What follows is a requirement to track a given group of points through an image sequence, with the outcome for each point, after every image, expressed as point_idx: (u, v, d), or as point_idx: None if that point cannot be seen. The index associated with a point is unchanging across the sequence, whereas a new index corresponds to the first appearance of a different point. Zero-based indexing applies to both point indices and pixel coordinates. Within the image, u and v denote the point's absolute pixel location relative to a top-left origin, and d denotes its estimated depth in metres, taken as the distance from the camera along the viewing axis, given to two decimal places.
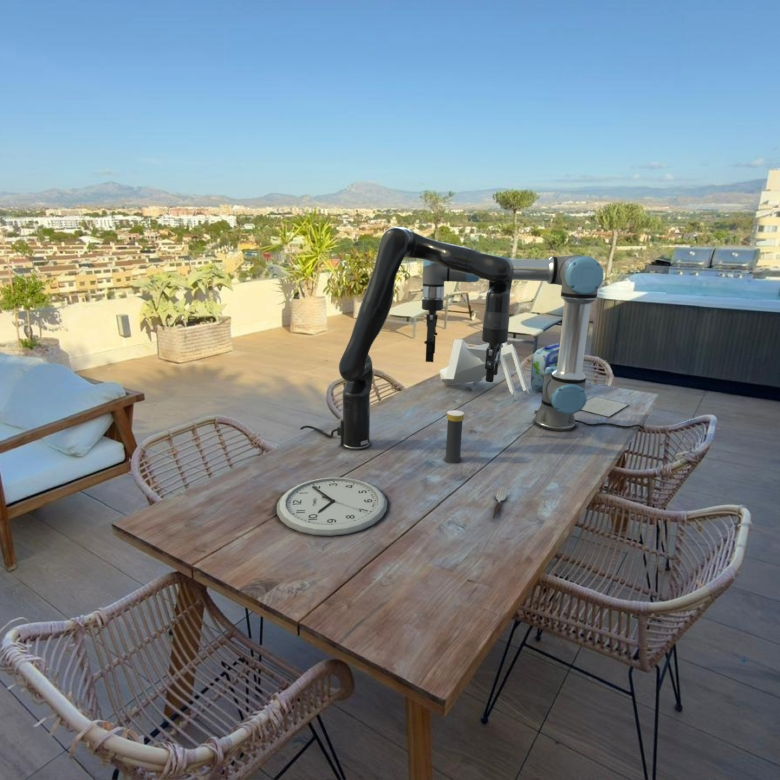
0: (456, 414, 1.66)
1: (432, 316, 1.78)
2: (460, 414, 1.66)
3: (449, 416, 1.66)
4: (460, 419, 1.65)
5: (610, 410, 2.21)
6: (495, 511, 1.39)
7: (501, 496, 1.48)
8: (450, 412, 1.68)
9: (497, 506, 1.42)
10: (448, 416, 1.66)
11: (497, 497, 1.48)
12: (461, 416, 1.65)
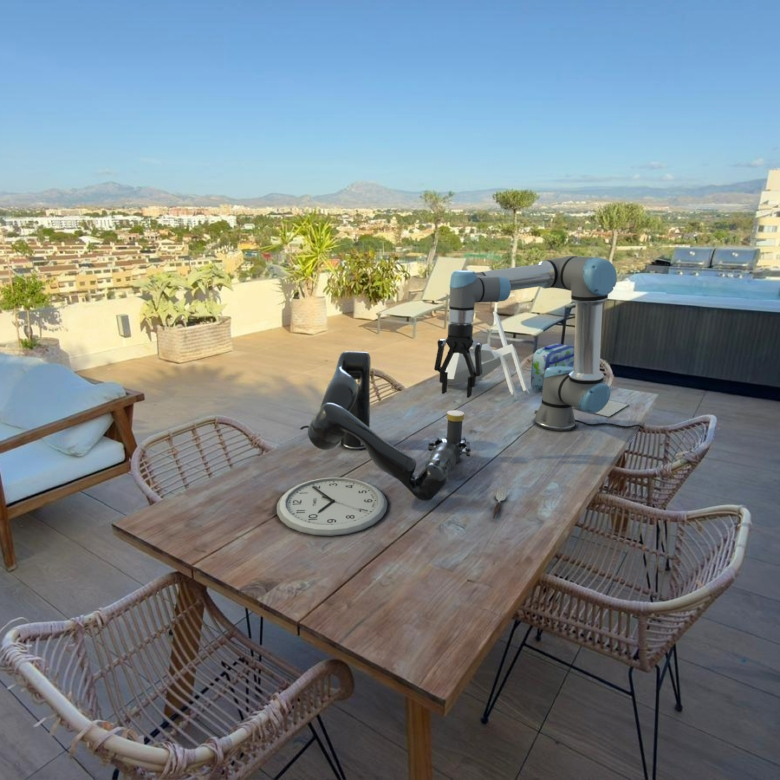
0: (456, 414, 1.66)
1: None
2: (460, 414, 1.66)
3: (449, 416, 1.66)
4: (460, 419, 1.65)
5: (610, 410, 2.21)
6: (495, 511, 1.39)
7: (501, 496, 1.48)
8: (450, 412, 1.68)
9: (497, 506, 1.42)
10: (448, 416, 1.66)
11: (497, 497, 1.48)
12: (461, 416, 1.65)
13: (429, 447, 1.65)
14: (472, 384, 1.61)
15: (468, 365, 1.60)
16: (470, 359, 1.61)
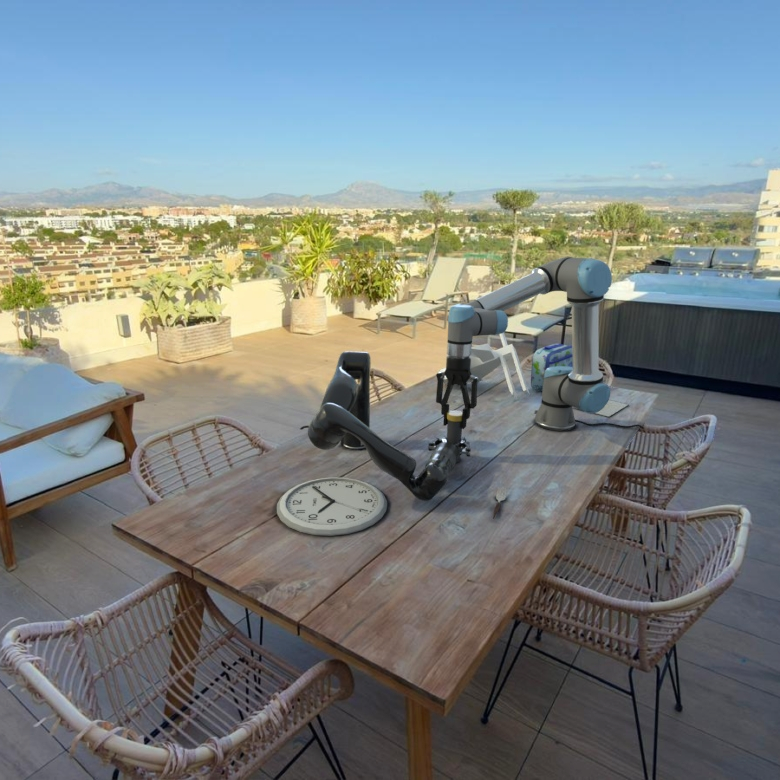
0: (456, 414, 1.66)
1: None
2: (460, 414, 1.66)
3: (449, 416, 1.66)
4: (460, 419, 1.65)
5: (610, 410, 2.21)
6: (495, 511, 1.39)
7: (501, 496, 1.48)
8: (450, 412, 1.68)
9: (497, 506, 1.42)
10: (448, 416, 1.66)
11: (497, 497, 1.48)
12: (461, 416, 1.65)
13: (429, 447, 1.65)
14: (467, 416, 1.65)
15: (464, 397, 1.63)
16: (467, 392, 1.64)
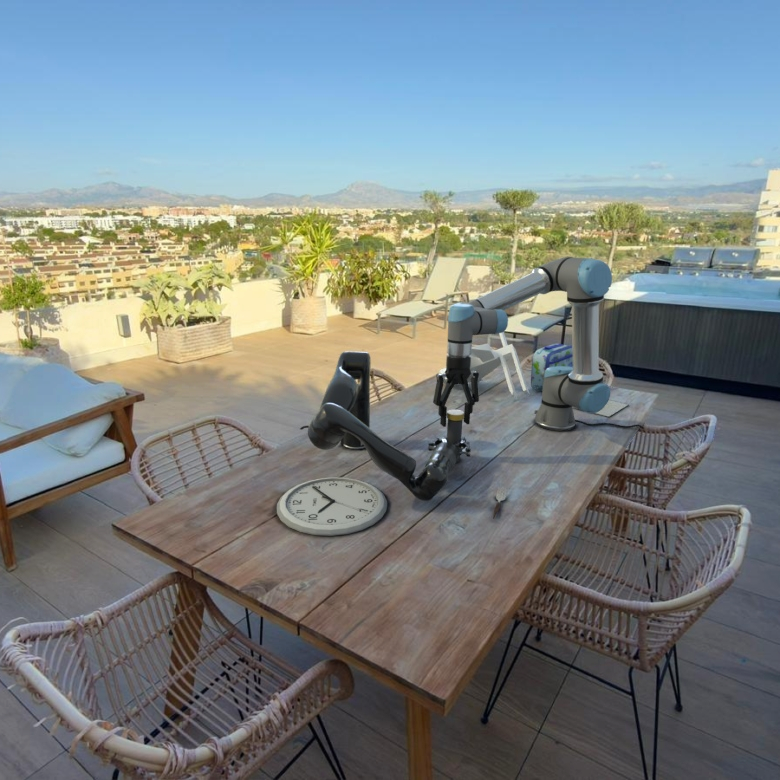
0: (459, 411, 1.68)
1: (438, 376, 1.61)
2: (457, 410, 1.69)
3: (462, 415, 1.66)
4: None
5: (610, 410, 2.21)
6: (495, 511, 1.39)
7: (501, 496, 1.48)
8: (456, 414, 1.66)
9: (497, 506, 1.42)
10: (462, 416, 1.66)
11: (497, 497, 1.48)
12: None
13: (429, 447, 1.65)
14: (471, 410, 1.68)
15: (468, 394, 1.65)
16: None
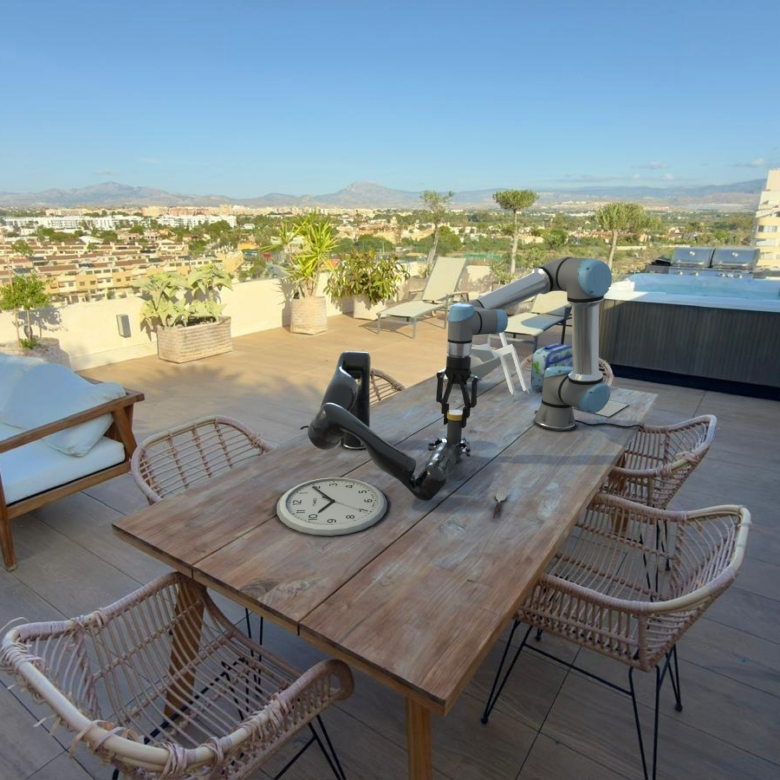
0: (459, 411, 1.68)
1: None
2: (457, 410, 1.69)
3: None
4: None
5: (610, 410, 2.21)
6: (495, 511, 1.39)
7: (501, 496, 1.48)
8: (456, 414, 1.66)
9: (497, 506, 1.42)
10: None
11: (497, 497, 1.48)
12: None
13: (429, 447, 1.65)
14: (467, 415, 1.65)
15: (464, 396, 1.63)
16: (467, 391, 1.64)
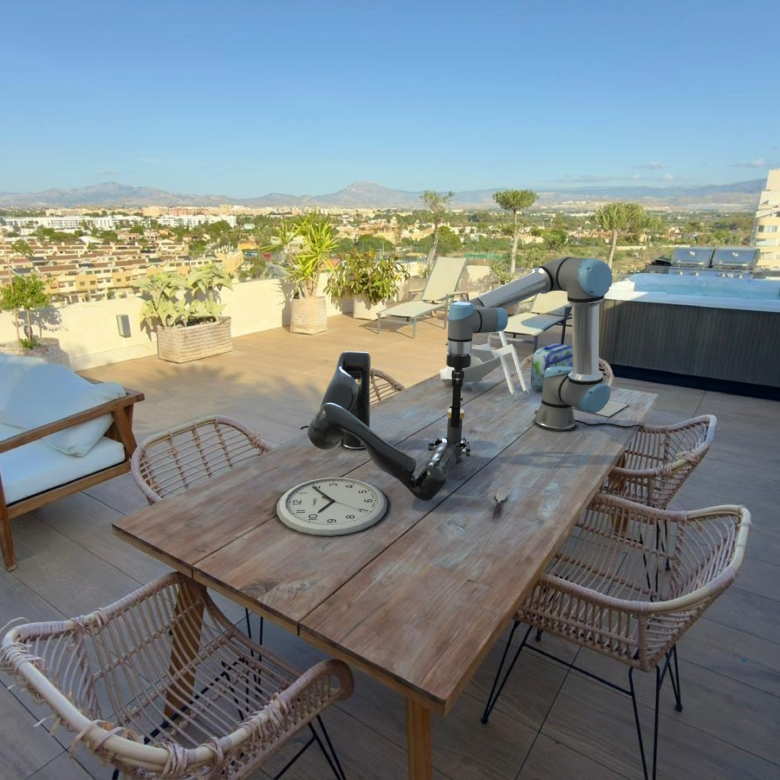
0: None
1: (458, 380, 1.57)
2: (449, 410, 1.67)
3: None
4: None
5: (610, 410, 2.21)
6: (495, 511, 1.39)
7: (501, 496, 1.48)
8: (460, 410, 1.67)
9: (497, 506, 1.42)
10: None
11: (497, 497, 1.48)
12: None
13: (429, 447, 1.65)
14: None
15: None
16: None
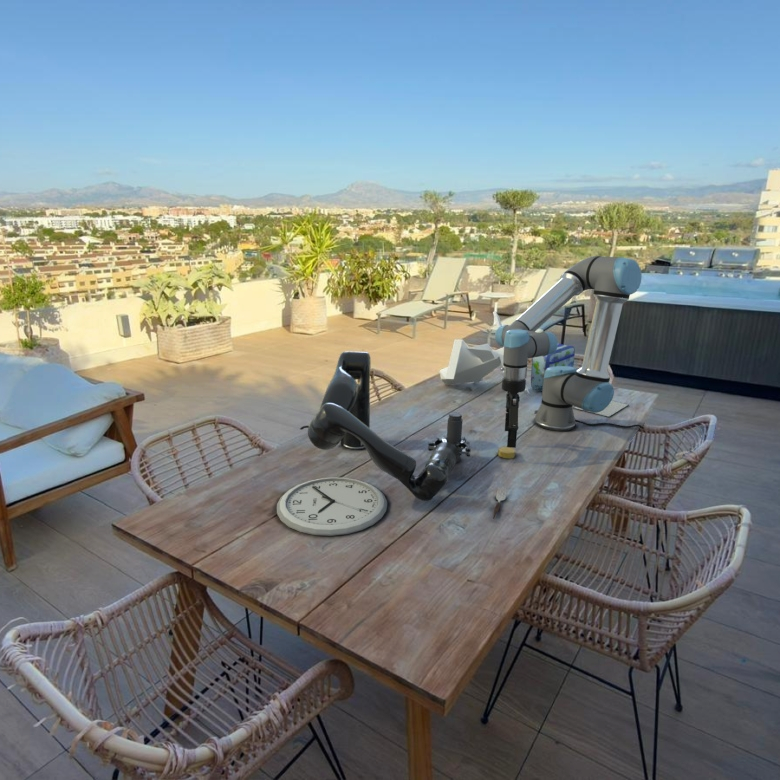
0: (503, 448, 1.77)
1: (515, 400, 1.64)
2: (501, 449, 1.76)
3: None
4: None
5: (610, 410, 2.21)
6: (495, 511, 1.39)
7: (501, 496, 1.48)
8: (511, 449, 1.76)
9: (497, 506, 1.42)
10: None
11: (497, 497, 1.48)
12: None
13: (429, 447, 1.65)
14: None
15: None
16: None
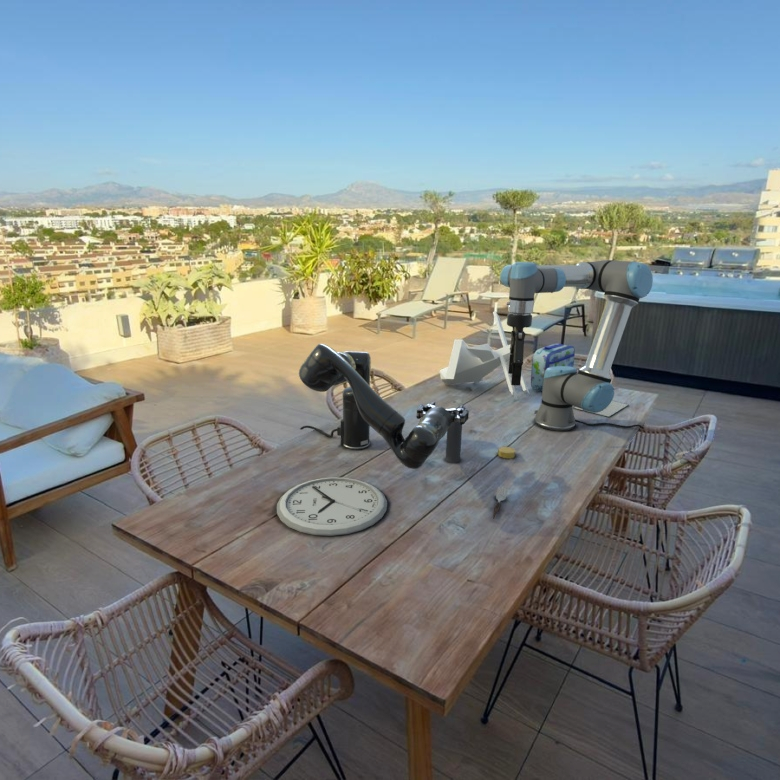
0: (503, 448, 1.77)
1: (521, 334, 1.57)
2: (501, 449, 1.76)
3: None
4: None
5: (610, 410, 2.21)
6: (495, 511, 1.39)
7: (501, 496, 1.48)
8: (511, 449, 1.76)
9: (497, 506, 1.42)
10: None
11: (497, 497, 1.48)
12: None
13: (418, 415, 1.48)
14: None
15: None
16: None
